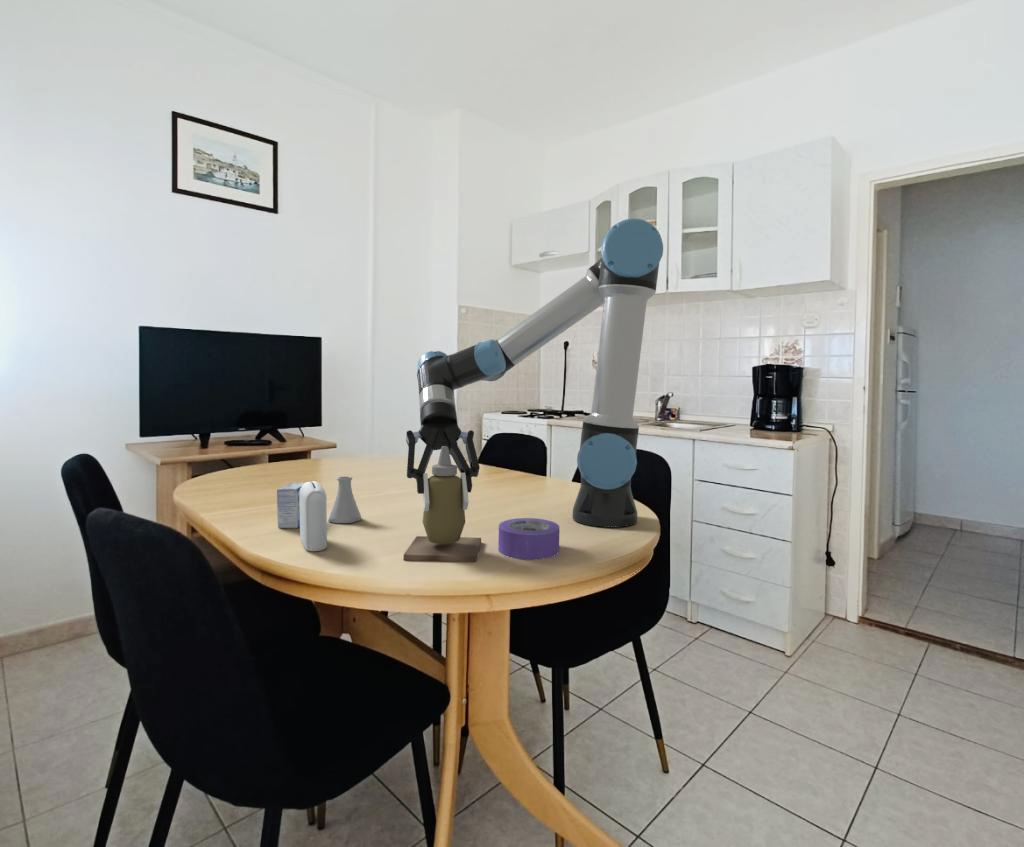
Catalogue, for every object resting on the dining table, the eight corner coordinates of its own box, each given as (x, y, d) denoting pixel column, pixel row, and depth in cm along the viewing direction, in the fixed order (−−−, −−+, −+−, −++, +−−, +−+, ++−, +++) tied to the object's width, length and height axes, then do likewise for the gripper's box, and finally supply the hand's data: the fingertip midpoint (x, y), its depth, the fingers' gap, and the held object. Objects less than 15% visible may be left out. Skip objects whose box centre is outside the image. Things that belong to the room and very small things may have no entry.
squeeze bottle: (423, 534, 110) (424, 443, 109) (465, 534, 111) (466, 444, 109) (420, 547, 102) (421, 449, 101) (465, 546, 103) (466, 449, 101)
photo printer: (298, 539, 113) (297, 478, 112) (320, 536, 115) (320, 477, 114) (305, 553, 103) (304, 487, 103) (329, 550, 105) (328, 485, 105)
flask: (351, 525, 124) (351, 480, 123) (322, 523, 125) (321, 479, 124) (366, 517, 131) (366, 475, 130) (338, 515, 132) (338, 474, 131)
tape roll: (556, 562, 101) (556, 535, 101) (492, 558, 103) (493, 531, 103) (561, 544, 113) (561, 519, 112) (504, 540, 115) (504, 516, 114)
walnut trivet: (481, 542, 112) (481, 537, 112) (475, 561, 100) (475, 556, 100) (416, 541, 112) (416, 536, 112) (403, 560, 101) (403, 554, 100)
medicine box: (297, 528, 120) (297, 489, 120) (276, 528, 120) (276, 488, 120) (311, 519, 128) (310, 482, 128) (291, 519, 128) (291, 482, 128)
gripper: (481, 423, 122) (495, 515, 107) (390, 423, 117) (391, 519, 103) (486, 400, 116) (501, 493, 102) (390, 399, 112) (392, 496, 97)
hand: (446, 506), depth 102 cm, fingers closed on squeeze bottle, 6 cm apart
